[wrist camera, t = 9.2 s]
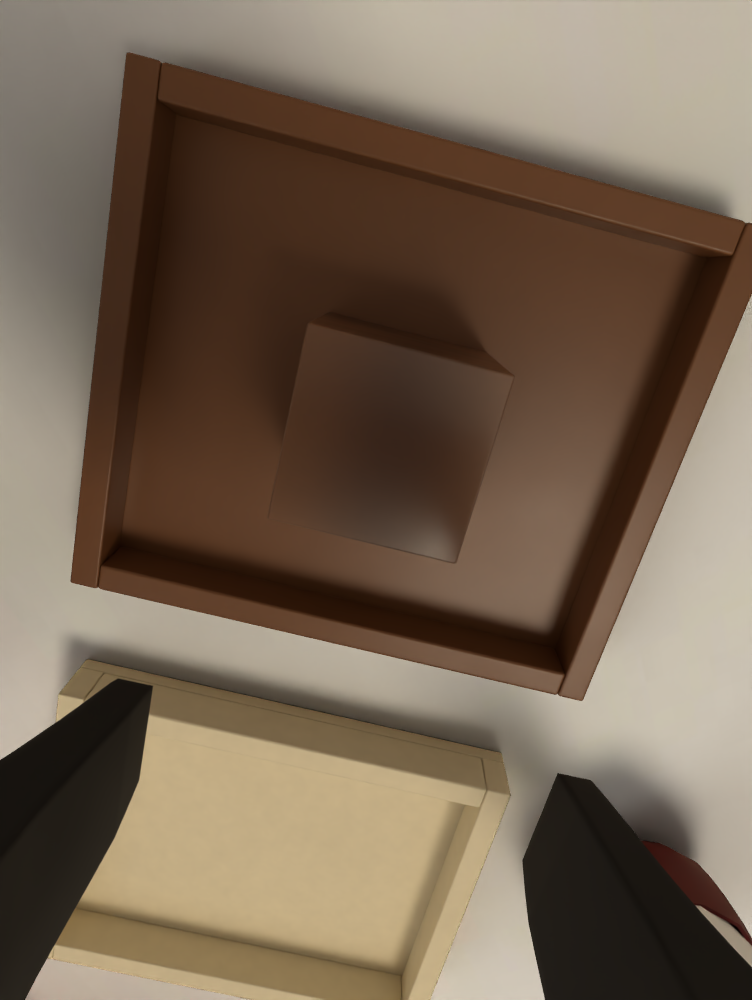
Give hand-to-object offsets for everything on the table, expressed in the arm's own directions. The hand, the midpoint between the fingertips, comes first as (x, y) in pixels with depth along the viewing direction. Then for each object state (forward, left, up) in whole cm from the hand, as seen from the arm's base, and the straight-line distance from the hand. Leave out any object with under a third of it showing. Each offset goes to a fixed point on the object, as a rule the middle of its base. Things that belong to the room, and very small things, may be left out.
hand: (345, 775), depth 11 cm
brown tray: (0, +5, -10) cm, 11 cm away
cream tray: (-1, -12, -10) cm, 15 cm away
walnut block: (0, +5, -9) cm, 10 cm away
